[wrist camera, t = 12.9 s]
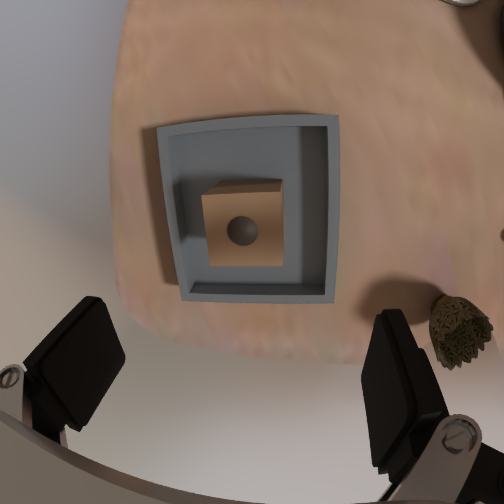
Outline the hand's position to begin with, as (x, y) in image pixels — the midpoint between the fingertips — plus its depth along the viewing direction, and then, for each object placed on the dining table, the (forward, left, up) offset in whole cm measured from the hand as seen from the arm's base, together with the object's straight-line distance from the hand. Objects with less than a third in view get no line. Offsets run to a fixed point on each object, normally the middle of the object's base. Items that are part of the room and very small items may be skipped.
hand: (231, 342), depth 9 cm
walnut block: (+1, -2, -20) cm, 20 cm away
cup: (+13, +21, -21) cm, 33 cm away
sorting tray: (+1, -2, -21) cm, 21 cm away
